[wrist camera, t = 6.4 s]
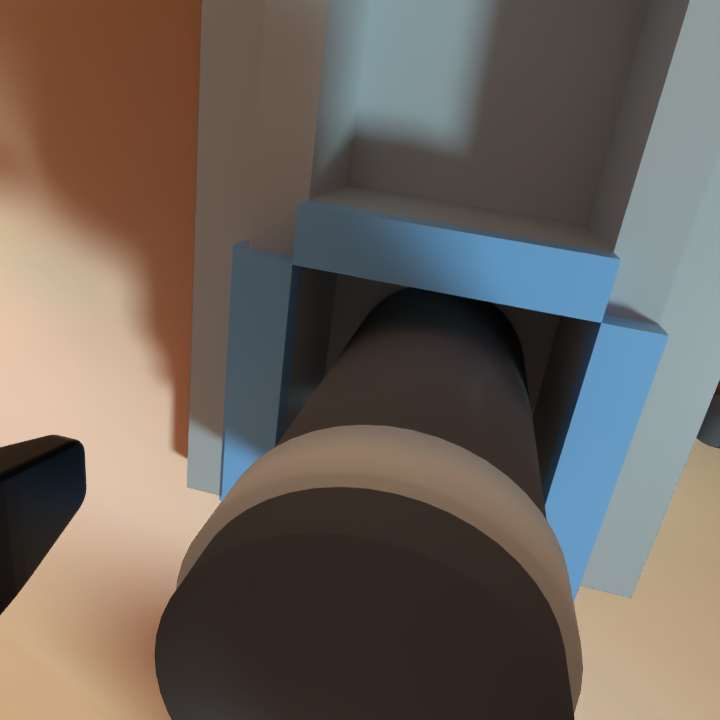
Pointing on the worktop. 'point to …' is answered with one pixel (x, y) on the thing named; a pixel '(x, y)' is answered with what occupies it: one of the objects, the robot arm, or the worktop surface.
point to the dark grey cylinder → (385, 545)
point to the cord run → (711, 424)
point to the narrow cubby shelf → (468, 226)
